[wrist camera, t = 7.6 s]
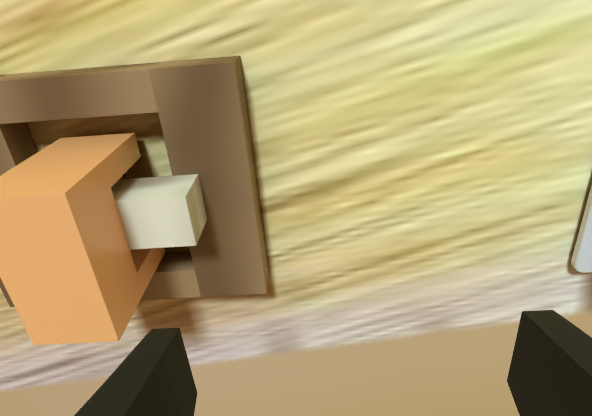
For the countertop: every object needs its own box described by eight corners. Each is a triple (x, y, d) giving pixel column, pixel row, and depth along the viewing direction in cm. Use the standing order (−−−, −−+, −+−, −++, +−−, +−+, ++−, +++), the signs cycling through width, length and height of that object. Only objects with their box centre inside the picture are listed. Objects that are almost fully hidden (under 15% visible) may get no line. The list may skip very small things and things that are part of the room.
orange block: (134, 132, 17) (64, 192, 12) (165, 251, 19) (118, 340, 14) (60, 137, 17) (-39, 199, 12) (101, 255, 19) (33, 344, 15)
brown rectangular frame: (239, 55, 16) (224, 72, 13) (269, 273, 20) (262, 325, 17) (-68, 80, 16) (-154, 102, 13) (28, 286, 21) (-19, 338, 18)
